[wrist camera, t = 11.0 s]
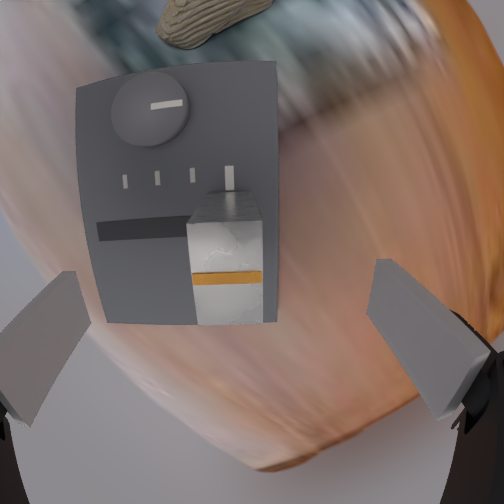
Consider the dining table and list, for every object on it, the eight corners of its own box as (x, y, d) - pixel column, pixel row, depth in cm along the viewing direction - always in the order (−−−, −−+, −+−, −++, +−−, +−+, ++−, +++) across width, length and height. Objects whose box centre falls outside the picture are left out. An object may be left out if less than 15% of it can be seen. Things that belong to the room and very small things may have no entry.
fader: (212, 257, 24) (197, 326, 14) (207, 192, 22) (185, 224, 12) (252, 256, 24) (263, 324, 15) (251, 191, 22) (262, 221, 13)
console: (115, 310, 29) (98, 336, 24) (88, 92, 20) (62, 83, 16) (273, 308, 29) (280, 337, 25) (272, 69, 21) (280, 51, 16)
